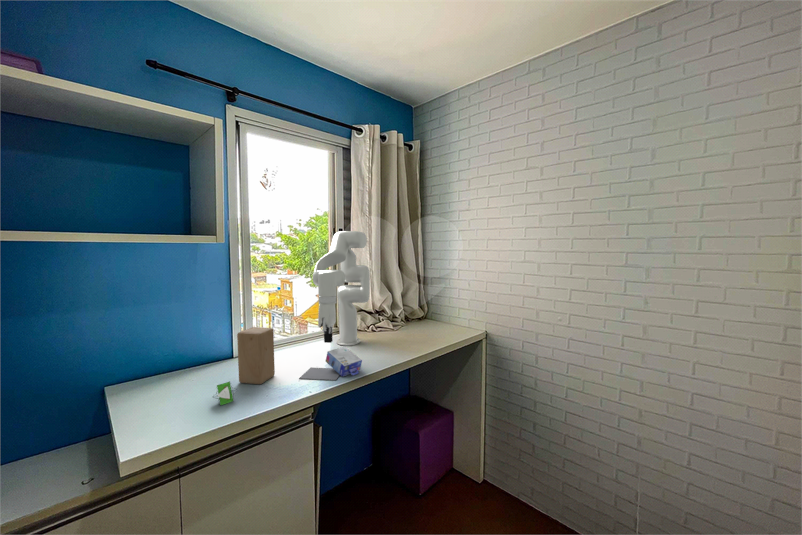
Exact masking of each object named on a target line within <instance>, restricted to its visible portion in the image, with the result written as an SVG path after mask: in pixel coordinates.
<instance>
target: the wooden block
mask: <svg viewBox="0 0 802 535" xmlns="http://www.w3.org/2000/svg"><path fill="white" fill-rule="evenodd" d="M236 336H237V337H236V338H237V340H236V341H237V342H236V343H237V361H238V362H237V363H238V382H239V383H241V384H250V385H251V384H252V385H253V384H254V385H262V384H264V383H265V382H266V381H268V380H270V379H271V378H273V377H274V376H275V372H276V371H275V370H276V369H275V344H274V343H275V341H274V340H275V336H274V329H273V328H272V327H261V326H260V327H257V326H256V327H255V326H252V327H250V328H247V329H245V330H241V331H239V332H237V335H236Z"/></svg>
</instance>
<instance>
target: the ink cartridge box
mask: <svg viewBox="0 0 802 535" xmlns="http://www.w3.org/2000/svg"><path fill="white" fill-rule="evenodd" d="M325 362H326V363H327V364H328V365H329V366H330V368H333V369H334V370H335V371H337V372H338V373H339V374H340V376H341V377H346V376H348V375H351V376H355V375H358V374H360V373H359V371H361V367H362V362H363V359H362V358H361V357H360V356H358V355H357V354H356V353H354V352H353V351H352V350H351V349H350V348H348V347H347V346H344V345H343V346H341V347H339V348H334V349H331V350H327V353H326V358H325Z"/></svg>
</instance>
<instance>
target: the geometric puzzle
mask: <svg viewBox="0 0 802 535" xmlns="http://www.w3.org/2000/svg"><path fill="white" fill-rule="evenodd" d="M232 386H233V385H232V382H231V381H226V382H224V383H221V384H220V383H219V384H217V385H216V389H217V394H216V395H214V396H212V398H213V399H215V398H216V399H218V401H217V402H219V406H223V405H226V404H229V403H232V402H234V400H235V399H234V395H235V394H236V391H238V390H239V389H238V388H236V387H232ZM234 389H235V390H234ZM234 391H235V393H234ZM235 397H236V395H235Z"/></svg>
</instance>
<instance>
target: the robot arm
mask: <svg viewBox="0 0 802 535" xmlns="http://www.w3.org/2000/svg"><path fill="white" fill-rule="evenodd" d="M367 240H368V238H367V235H366V233H365V232H363V231H359V230H358V231H356V230H349V231H348V230H346V231H345V230H343V231H337V232H336V233H334V235H333V237H332V241H331V245H330V249H329V252H328V253H326V254H324V255H323V256H322V257H321V258H319V259H318V261H317V262H316V264H315V266H314V270H313V273H312V282H313V284H314V285H315V286H316V287H318V293H317V294H318V305H319V306H318V314H317V315H318V318H317V319H318V320H317V323H318V324H317V326H318V328H322V332H323V342H324V343H326V344H327V343H332V342H333V340H334V339H333V328H334V325H335V324H336V322H337V314H336V304H337V303H338V314H339V315H338V316H339V317H338V320H339V321H338V322H339V324H338V326H339V328H338V329H339V339H337V340H336V344H337V345H338V346H339V345H340V346H343V347H344V346H346V347H347V346H348V347H349V346H355V345H358V344H360V343H361V340H360V338H358V319H357V318H358V312H357V307H356V306H355V305H354V303H355V304H357V303H358V304H359V303H363V304H366V303H368V302H369V300H370V297H371V296H370V294H371V293H370V292H371V288H370V287H371V275H370V274H371V273H370V272H371V271H370V268H369V267H368V266H367V265H365V264H364V265H363V264H362V265H361V264H359V265H358V264H357V255H356V253H355V252H354V251H353V249H364V248H365V247H366V246H367V243H368V241H367ZM338 264H340V269H328V268H330V267H334V266H336V265H338ZM345 283H348V284H345ZM349 283H353V284H349ZM354 283H355V284H354ZM357 283H358V284H357ZM359 283H360V284H359ZM337 287H338V288H337ZM337 301H338V302H337Z"/></svg>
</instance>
